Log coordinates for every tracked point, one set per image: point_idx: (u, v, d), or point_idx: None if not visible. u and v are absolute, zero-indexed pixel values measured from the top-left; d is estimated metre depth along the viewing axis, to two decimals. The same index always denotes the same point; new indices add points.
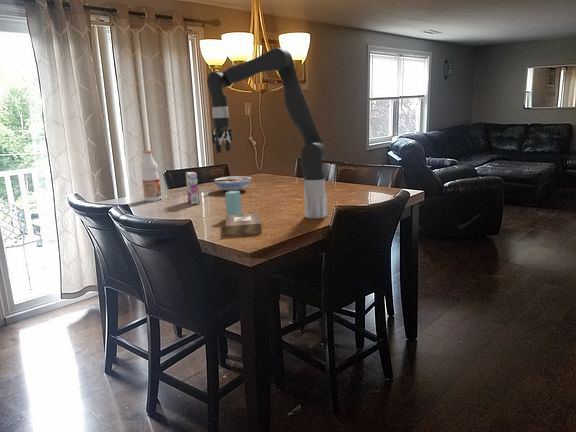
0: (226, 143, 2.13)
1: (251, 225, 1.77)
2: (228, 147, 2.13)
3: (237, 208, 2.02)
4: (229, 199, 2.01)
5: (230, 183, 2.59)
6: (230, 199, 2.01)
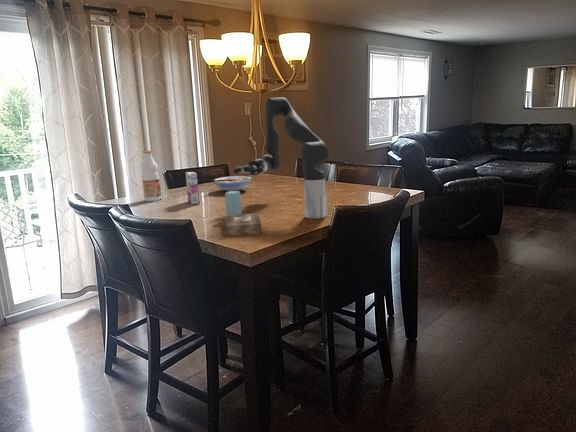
0: None
1: (251, 225, 1.77)
2: None
3: (237, 208, 2.02)
4: (229, 199, 2.01)
5: (230, 183, 2.59)
6: (230, 199, 2.01)
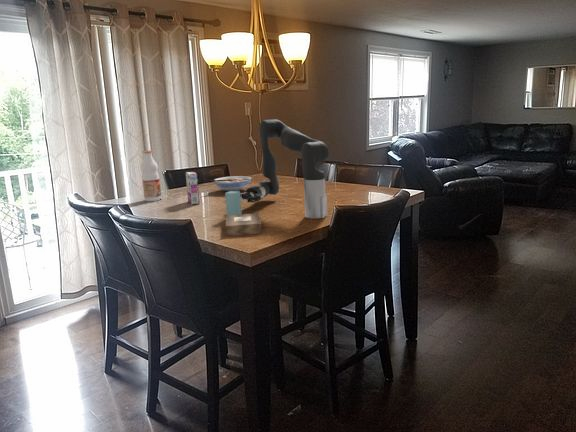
0: None
1: (251, 225, 1.77)
2: None
3: (237, 208, 2.02)
4: (229, 199, 2.01)
5: (230, 183, 2.59)
6: (230, 199, 2.01)
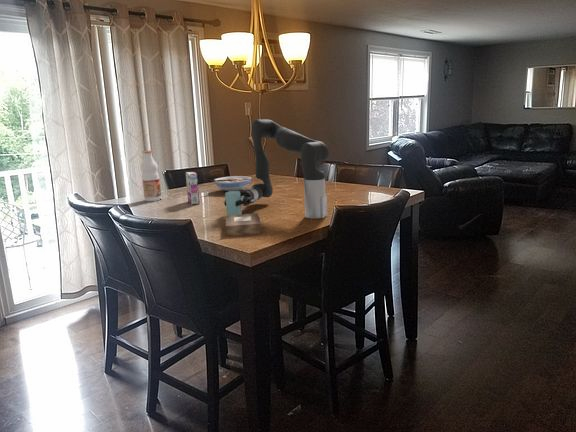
0: None
1: (251, 225, 1.77)
2: None
3: (237, 208, 2.02)
4: (229, 199, 2.01)
5: (230, 183, 2.59)
6: (230, 199, 2.01)
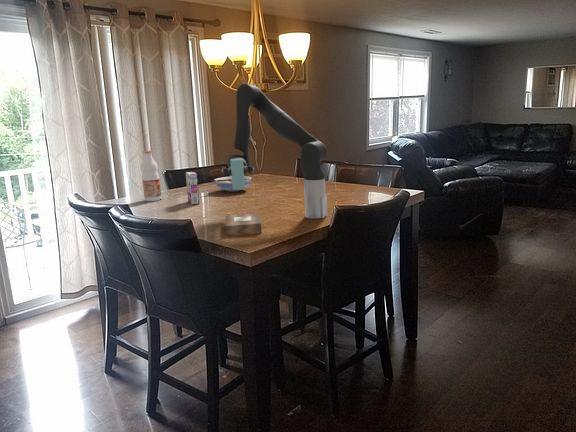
0: None
1: (251, 225, 1.77)
2: None
3: None
4: (235, 166, 1.78)
5: (230, 183, 2.59)
6: (237, 167, 1.78)
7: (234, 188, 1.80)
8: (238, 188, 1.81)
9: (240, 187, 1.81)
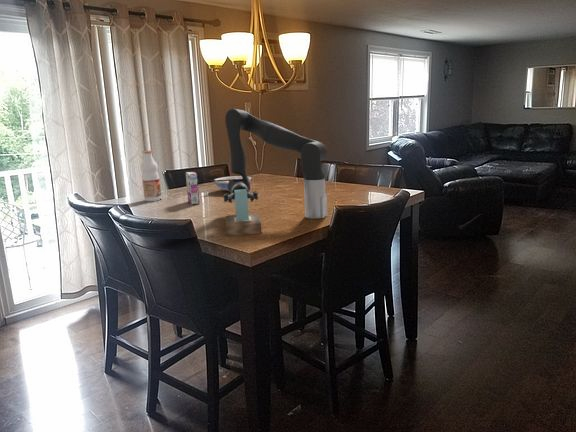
0: None
1: (251, 225, 1.77)
2: (250, 197, 1.83)
3: (247, 207, 1.83)
4: (239, 198, 1.80)
5: None
6: (241, 198, 1.80)
7: (238, 219, 1.82)
8: (242, 219, 1.82)
9: (244, 218, 1.82)
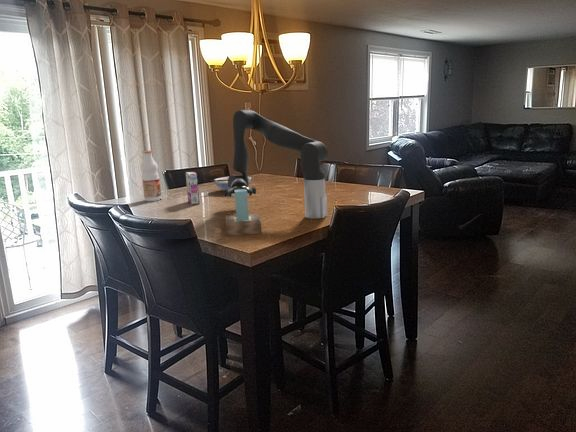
0: None
1: (251, 225, 1.77)
2: (249, 191, 1.95)
3: (247, 207, 1.83)
4: (239, 198, 1.80)
5: None
6: (241, 198, 1.80)
7: (238, 219, 1.82)
8: (242, 219, 1.82)
9: (244, 218, 1.82)
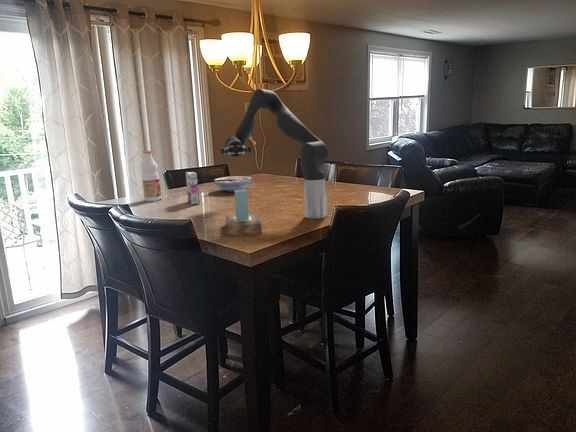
0: None
1: (251, 225, 1.77)
2: (244, 149, 2.03)
3: (247, 207, 1.83)
4: (239, 198, 1.80)
5: (230, 183, 2.59)
6: (241, 198, 1.80)
7: (238, 219, 1.82)
8: (242, 219, 1.82)
9: (244, 218, 1.82)
